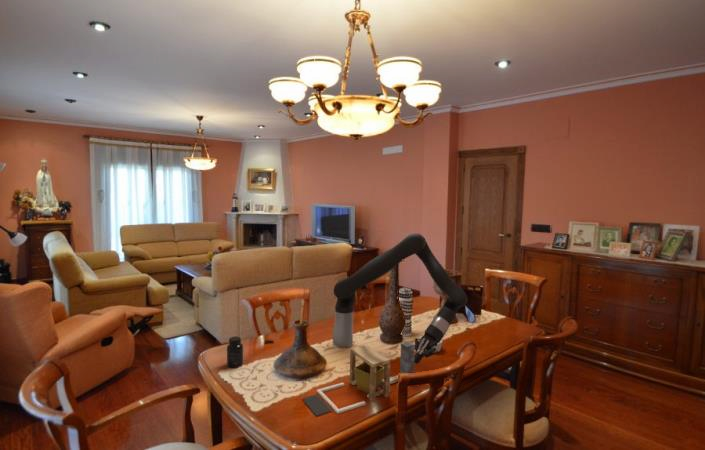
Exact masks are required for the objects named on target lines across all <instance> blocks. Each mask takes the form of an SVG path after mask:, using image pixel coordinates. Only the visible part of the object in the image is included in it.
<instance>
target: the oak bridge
mask: <svg viewBox="0 0 705 450" xmlns="http://www.w3.org/2000/svg"><path fill="white" fill-rule="evenodd" d="M349 352H350V355H349V384H350V385H352V381H356V380H355V372H354V368H355V367H356V360H357V357H358V358H359V359H360V360H362V363H364V362H366V363H367V364H369V365H370V392H369V393H368V394H369V398H368V400H369V402H371V403H374V402H376V396H375V394H376V391H377V390H376V367H377V366H383V367H384V374H383V379H384V388H383V387H382V390H383V394H382V396H383V397H384V398H389V397H390V392H389V388H390V389H391V384H390V377H391V358H389V357H387V356H386V355H384V354H383V353H381V352H379V351H378V350H376V349H375V348H373V347H372V346H370V345H369V344H364V345H359V346H355V347H351V348H350V349H349ZM352 386H353V385H352Z"/></svg>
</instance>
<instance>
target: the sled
mask: <svg viewBox="0 0 705 450" xmlns="http://www.w3.org/2000/svg"><path fill="white" fill-rule="evenodd" d="M415 352H416V350H415V343H412V342H410V341H405V342H401V343H400V359H399V360H400V364H399V374H400V373H414V372H415V363H414V356H415V354H416V353H415ZM399 374H397V375H395V376H390V385H391V384H394V383H398V382H397V379H398V375H399ZM414 374H415V373H414ZM352 386H357V383H356V380H355V381H352ZM379 387H381V388H382V389H380V390H376V394H375V397H376V396H380V395H383V388H384V378H383V379H382V382H381V384H380V386H379ZM389 393H391V387H390V388H389ZM366 394H367V395H366V396H367V397H366V398H368V399H369V393H366Z"/></svg>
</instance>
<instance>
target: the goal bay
mask: <svg viewBox="0 0 705 450" xmlns="http://www.w3.org/2000/svg"><path fill="white" fill-rule="evenodd" d="M344 386H345V383H344V382H339V383H337V384H332V385H329V386H326V387H322V388H318V389H316V393H317V395H318V396H319V397H320V398H321V399H322V400H323V401H324V402H325V403H326V404H327V405H328V407H329V406H330V407H329V408H330V409H331V410H332V411H334V412H335V413H336V414H337V415H338V414H342V413H344V412H347V411H350V410H353V409H357V408H361V407H363V406H365V405H366V401H364V400H362V401H359V402H356V403H354V404H351V405H347V406H344V407H341V408H338V406H337V405H336V404H334V402H333V401H331V399H330V398H329V397H328V396H327V395H326V394H325V393H324V392H327V391H330V390H335V389H338V388H341V387H344Z"/></svg>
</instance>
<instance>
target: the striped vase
mask: <svg viewBox="0 0 705 450" xmlns="http://www.w3.org/2000/svg"><path fill="white" fill-rule="evenodd" d="M399 301H400V306H401V308H402V310H403V313H404V315H405V320H406V323H405V328H404V330H403V332H402V335H403V336H402V337H410V336H412V323H413V322H412V314H413V309H414V308H413V306H414V305H413V303H414V298H413V291H412V290H411V288H408V287H400V288H399Z"/></svg>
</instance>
